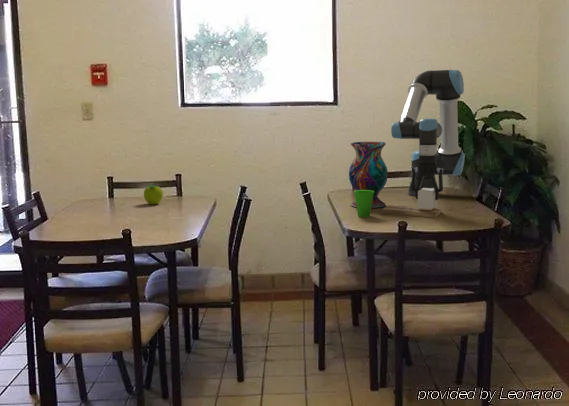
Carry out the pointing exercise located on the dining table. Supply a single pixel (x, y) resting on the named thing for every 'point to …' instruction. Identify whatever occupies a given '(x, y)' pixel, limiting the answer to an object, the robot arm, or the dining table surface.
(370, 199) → the cup
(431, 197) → the white cube
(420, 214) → the board
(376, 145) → the vase
